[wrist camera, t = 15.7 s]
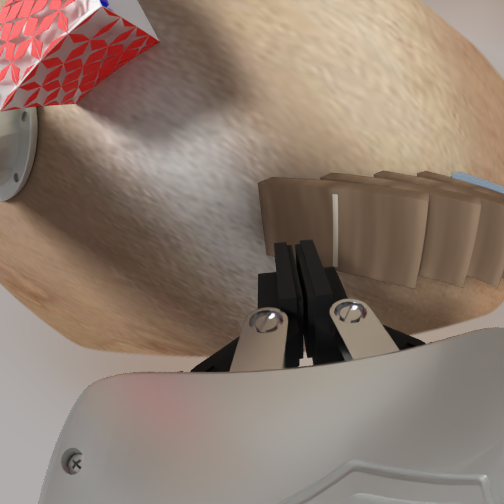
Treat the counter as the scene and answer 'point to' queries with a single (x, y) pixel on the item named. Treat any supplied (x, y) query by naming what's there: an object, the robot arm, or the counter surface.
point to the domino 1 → (349, 225)
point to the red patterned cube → (65, 47)
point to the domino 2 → (438, 227)
